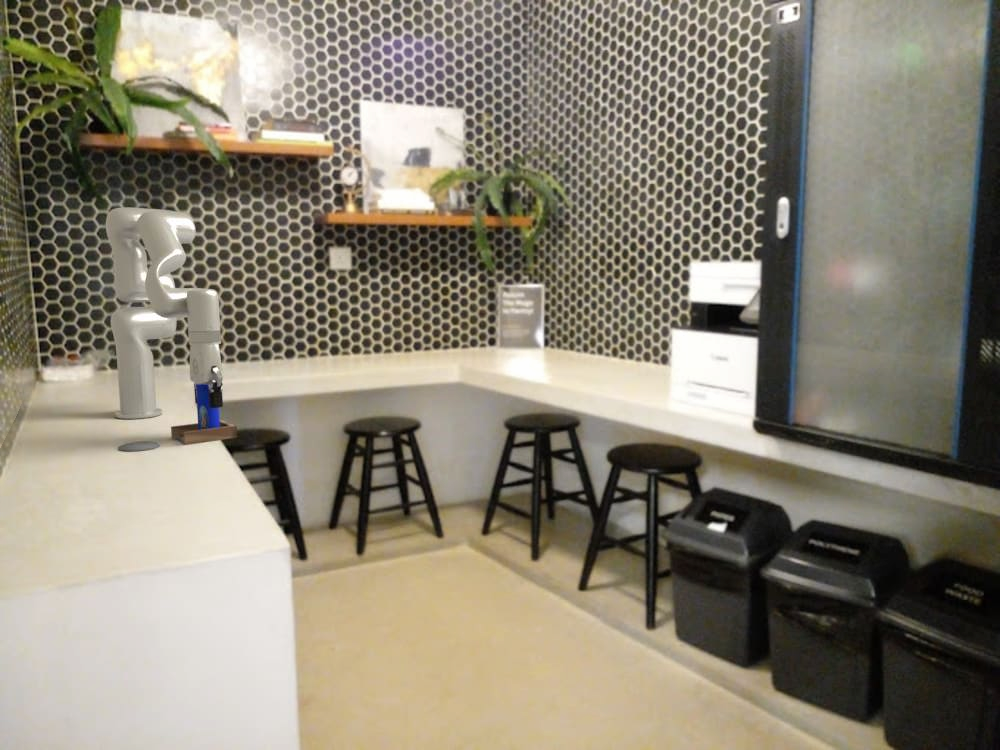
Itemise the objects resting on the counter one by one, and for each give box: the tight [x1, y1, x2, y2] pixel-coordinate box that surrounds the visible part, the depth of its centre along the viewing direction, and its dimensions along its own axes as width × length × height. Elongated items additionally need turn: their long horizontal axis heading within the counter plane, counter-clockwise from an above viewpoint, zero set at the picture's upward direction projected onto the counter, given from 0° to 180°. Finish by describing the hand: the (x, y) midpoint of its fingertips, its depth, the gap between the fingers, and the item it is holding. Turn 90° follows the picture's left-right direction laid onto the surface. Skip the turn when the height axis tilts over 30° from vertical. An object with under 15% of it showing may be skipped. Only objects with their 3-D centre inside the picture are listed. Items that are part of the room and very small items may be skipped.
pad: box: [117, 440, 160, 453], centre depth 181 cm, size 9×9×1 cm
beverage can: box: [196, 382, 220, 430], centre depth 191 cm, size 5×5×15 cm
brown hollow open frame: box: [170, 419, 238, 446], centre depth 191 cm, size 10×13×3 cm
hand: (208, 405), depth 191 cm, fingers open, 9 cm apart
